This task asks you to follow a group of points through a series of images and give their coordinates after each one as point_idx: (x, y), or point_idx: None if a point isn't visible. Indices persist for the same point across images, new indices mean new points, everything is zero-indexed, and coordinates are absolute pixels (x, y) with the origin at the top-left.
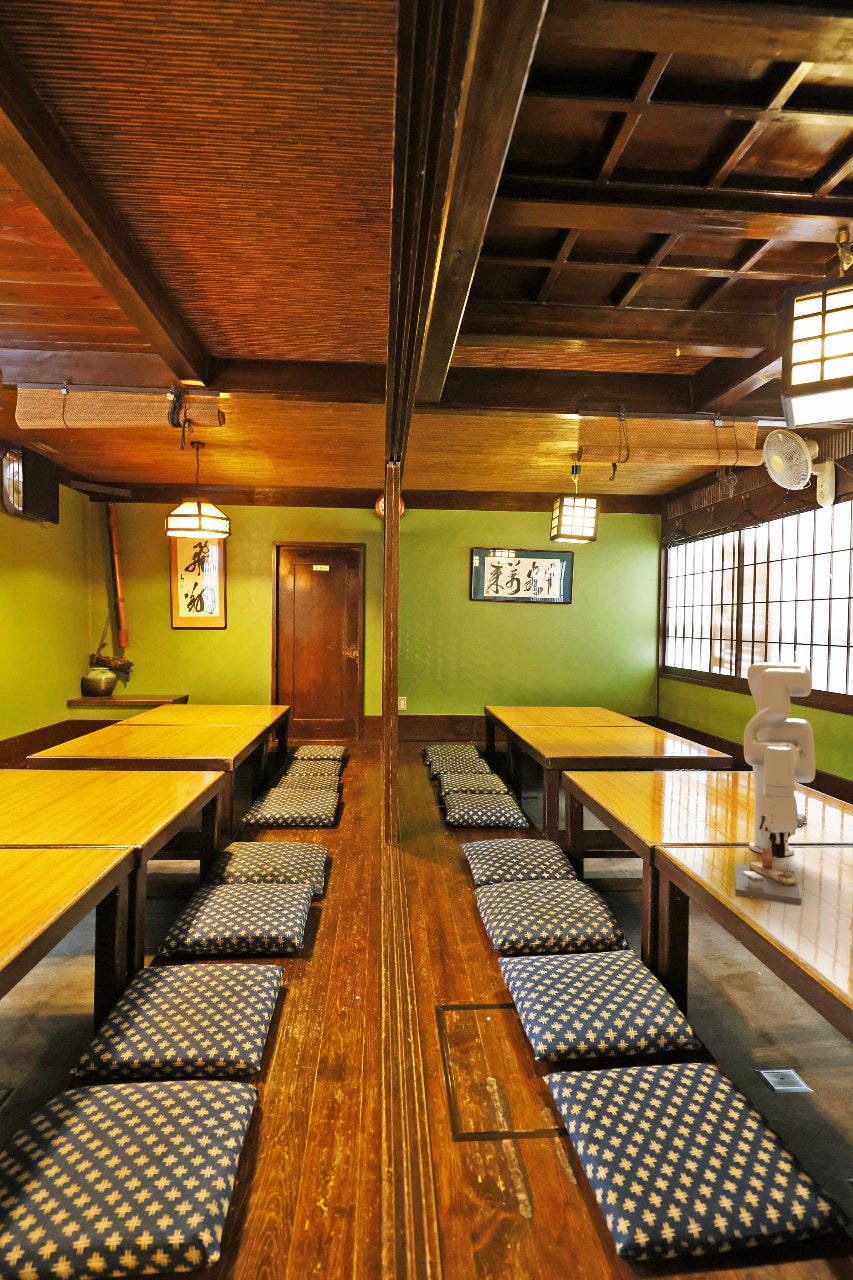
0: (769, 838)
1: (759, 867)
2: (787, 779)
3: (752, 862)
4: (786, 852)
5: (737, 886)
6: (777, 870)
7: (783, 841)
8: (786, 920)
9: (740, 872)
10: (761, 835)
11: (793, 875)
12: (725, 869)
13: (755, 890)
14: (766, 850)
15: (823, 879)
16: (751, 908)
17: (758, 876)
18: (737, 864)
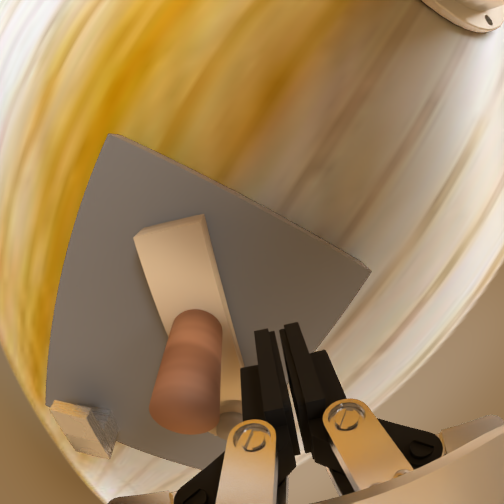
0: (206, 477)
1: (161, 312)
2: None
3: (151, 242)
4: (477, 26)
5: (50, 394)
6: (232, 366)
7: (326, 466)
8: (134, 483)
9: (81, 280)
10: (113, 500)
11: (324, 328)
12: (70, 151)
13: None
14: (167, 425)
15: (438, 294)
16: None
17: (95, 449)
18: (112, 153)
